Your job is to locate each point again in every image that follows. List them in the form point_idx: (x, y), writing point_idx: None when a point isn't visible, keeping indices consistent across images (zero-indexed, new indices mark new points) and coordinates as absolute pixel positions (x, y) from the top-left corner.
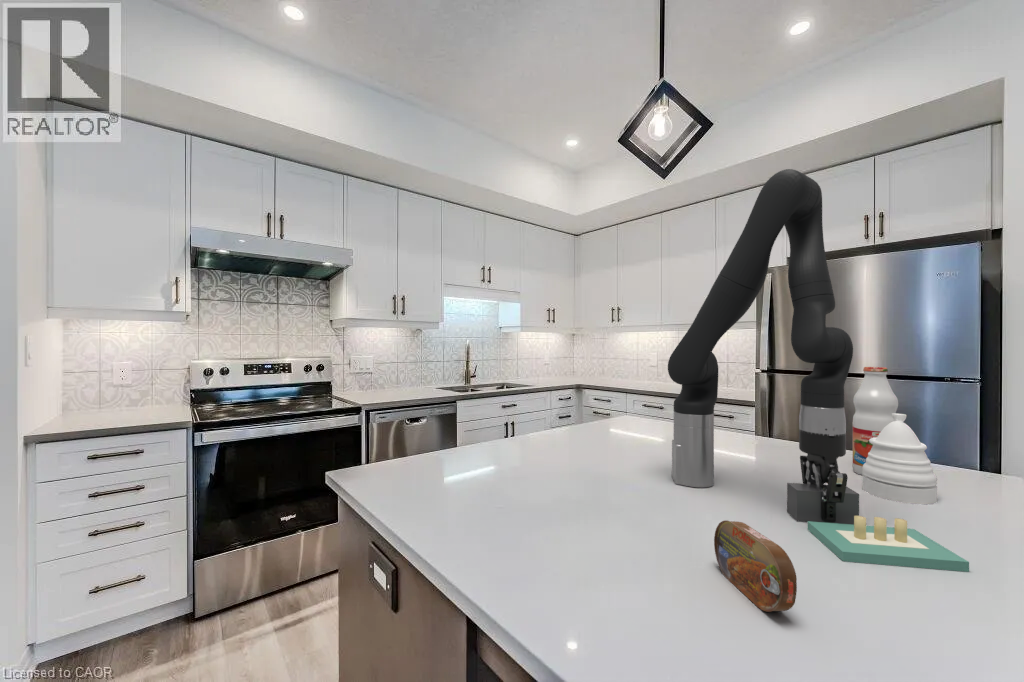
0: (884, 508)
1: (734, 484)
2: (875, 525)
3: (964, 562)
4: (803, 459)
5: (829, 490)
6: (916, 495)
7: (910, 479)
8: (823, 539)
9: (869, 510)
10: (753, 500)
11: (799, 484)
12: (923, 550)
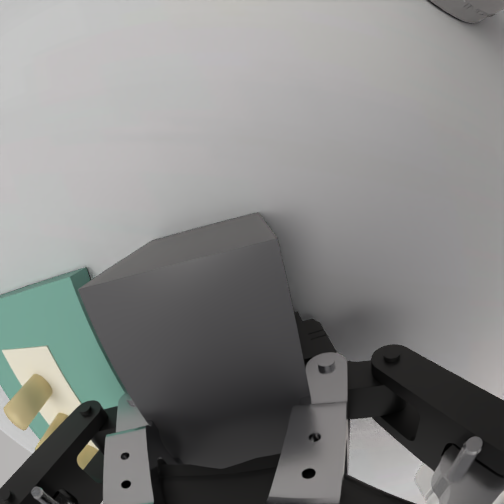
0: (391, 454)
1: (490, 85)
2: (43, 435)
3: None
4: (501, 456)
5: (49, 442)
6: (422, 485)
7: (437, 502)
8: (10, 293)
9: (373, 440)
10: (363, 90)
11: (264, 335)
12: None
